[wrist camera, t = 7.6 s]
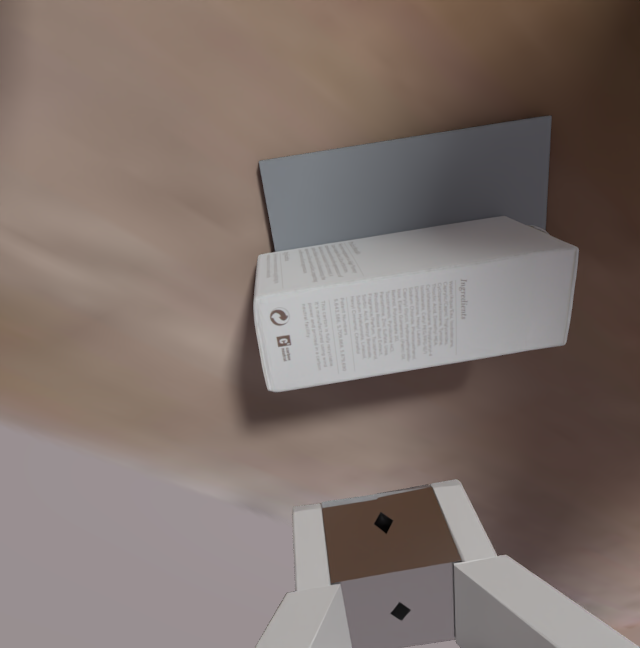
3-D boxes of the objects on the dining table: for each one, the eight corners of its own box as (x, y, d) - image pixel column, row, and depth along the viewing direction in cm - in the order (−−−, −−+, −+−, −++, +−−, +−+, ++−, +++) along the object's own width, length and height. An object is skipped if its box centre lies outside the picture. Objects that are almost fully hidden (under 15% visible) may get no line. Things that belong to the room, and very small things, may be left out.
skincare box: (266, 399, 18) (573, 357, 19) (246, 290, 17) (587, 246, 17) (268, 331, 24) (505, 300, 24) (254, 244, 22) (510, 212, 23)
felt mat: (545, 115, 22) (551, 115, 21) (534, 334, 26) (539, 338, 26) (258, 160, 21) (258, 161, 21) (298, 376, 26) (299, 381, 25)
